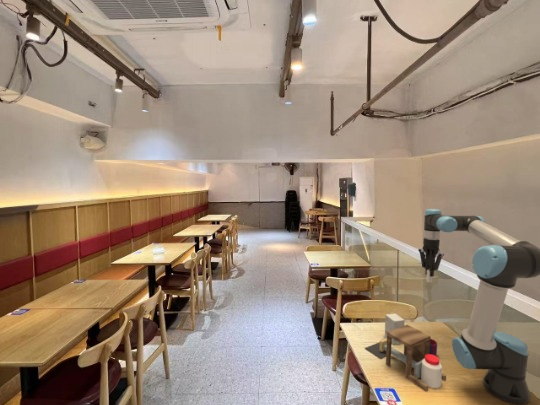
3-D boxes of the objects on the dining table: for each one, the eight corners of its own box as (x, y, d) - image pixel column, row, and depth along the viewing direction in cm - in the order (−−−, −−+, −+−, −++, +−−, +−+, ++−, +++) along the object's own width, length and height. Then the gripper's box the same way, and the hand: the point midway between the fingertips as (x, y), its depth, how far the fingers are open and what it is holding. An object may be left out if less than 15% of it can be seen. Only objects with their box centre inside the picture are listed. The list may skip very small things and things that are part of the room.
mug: (438, 359, 144) (439, 346, 144) (416, 357, 146) (417, 343, 146) (433, 351, 151) (434, 338, 150) (412, 349, 153) (413, 336, 152)
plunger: (428, 372, 134) (429, 358, 133) (416, 379, 130) (416, 365, 129) (388, 348, 153) (389, 336, 152) (376, 353, 148) (377, 341, 148)
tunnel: (446, 379, 130) (448, 344, 128) (425, 391, 123) (427, 354, 121) (405, 355, 147) (407, 324, 146) (385, 364, 140) (387, 332, 139)
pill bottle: (440, 390, 123) (442, 365, 122) (419, 383, 127) (421, 359, 126) (441, 380, 130) (443, 356, 129) (421, 373, 134) (423, 350, 133)
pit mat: (396, 352, 150) (396, 351, 150) (380, 359, 144) (380, 358, 144) (380, 342, 159) (380, 341, 159) (364, 348, 153) (364, 348, 153)
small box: (403, 343, 158) (405, 320, 156) (393, 345, 156) (394, 321, 155) (394, 335, 166) (395, 313, 164) (384, 336, 164) (385, 314, 163)
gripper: (448, 239, 153) (445, 284, 155) (424, 235, 164) (422, 276, 166) (439, 241, 149) (436, 286, 151) (415, 236, 161) (413, 279, 163)
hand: (429, 281), depth 159 cm, fingers closed
